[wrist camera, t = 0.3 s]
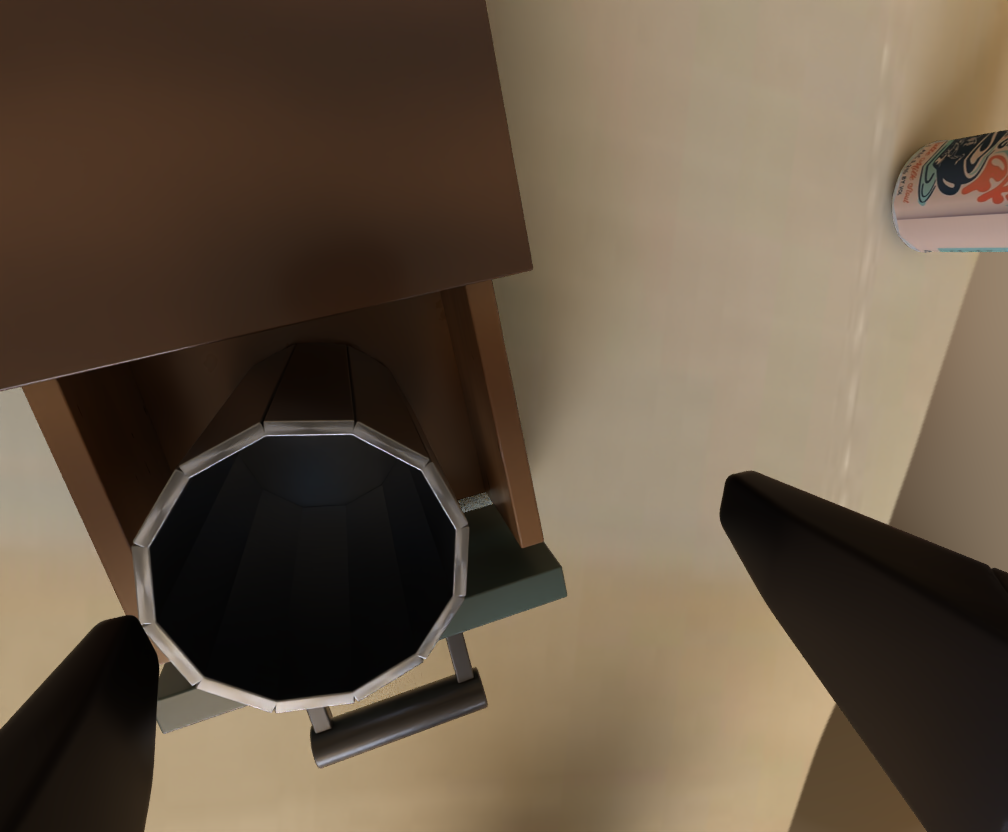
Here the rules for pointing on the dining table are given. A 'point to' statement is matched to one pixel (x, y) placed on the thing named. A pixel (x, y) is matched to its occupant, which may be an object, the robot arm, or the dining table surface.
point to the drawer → (442, 416)
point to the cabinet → (240, 170)
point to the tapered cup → (303, 538)
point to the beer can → (955, 196)
